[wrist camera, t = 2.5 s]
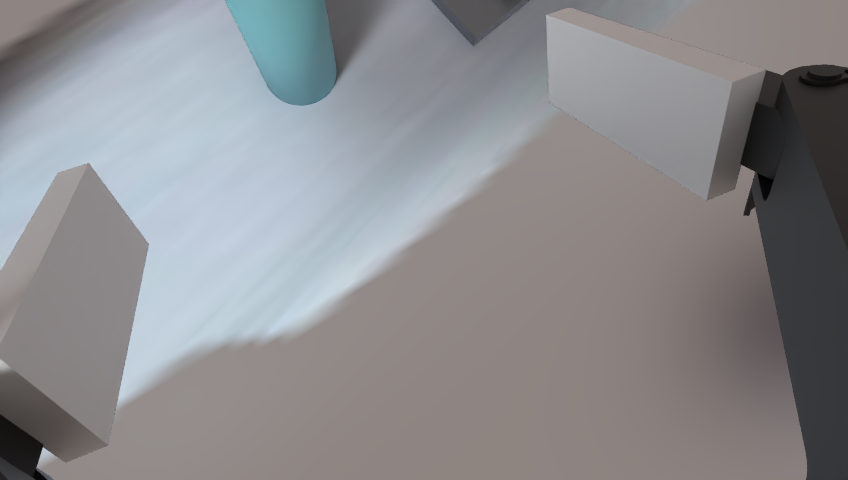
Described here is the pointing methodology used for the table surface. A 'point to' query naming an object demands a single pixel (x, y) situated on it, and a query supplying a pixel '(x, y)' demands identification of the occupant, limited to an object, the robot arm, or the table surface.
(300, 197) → the table surface
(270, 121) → the table surface
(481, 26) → the stand
